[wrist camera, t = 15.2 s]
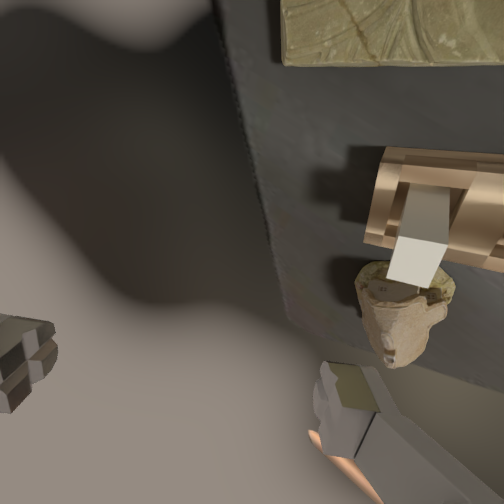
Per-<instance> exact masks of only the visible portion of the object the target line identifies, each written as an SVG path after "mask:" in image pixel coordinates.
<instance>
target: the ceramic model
mask: <svg viewBox="0 0 504 504" xmlns="http://www.w3.org/2000/svg"><path fill="white" fill-rule="evenodd" d="M389 263H390V261H374V262H371V263H369V264H367V265H366V266H364V267H363V268H362V269H361V271H360V272H359V274H358V276H357V278H356V280H355V282H354V283H355V287H356V291H357V295H358V300H359V302H360V303H359V304H360V305H361V310H362V322H363V326H364V328H365V330H366V333H367V336H368V339H369V341H370V343H371V346H372V347H373V349H374V350H375V352H376V354H377V355H378V357H379V359H380V360H381V361H382V362H383V363H384V364H385V366H386V367H387V368H392V369H395V368H396V367H402V366H406V365H407V364H409V363H411V362H412V361H414V360H415V359H416V358H417V357H418V356H419V355H420V354H422V352H423V351H424V349H425V346H426V343H427V341H428V338H429V334H428V333H429V330H430V328H431V327H432V325H434V324H436V323H438V322H439V321H441V320H443V319H445V317H446V315H447V304H449V303H450V302H451V300H452V296H453V293H454V291H455V287H456V286H455V283H454V282H453V279H452V278H450V277H449V276H448V274H446V273H445V272H444V271H443V269H442V268H440V267H439V266H438V268H437V270H436V272H435V274H434V277H433V279H432V281H431V283H430V285H429V287H428V288H424V287H420V286H416V285H412V284H408V283H404V282H400V281H396V280H392V279H388V278H386V276H387V272H388V267H389Z"/></svg>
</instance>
